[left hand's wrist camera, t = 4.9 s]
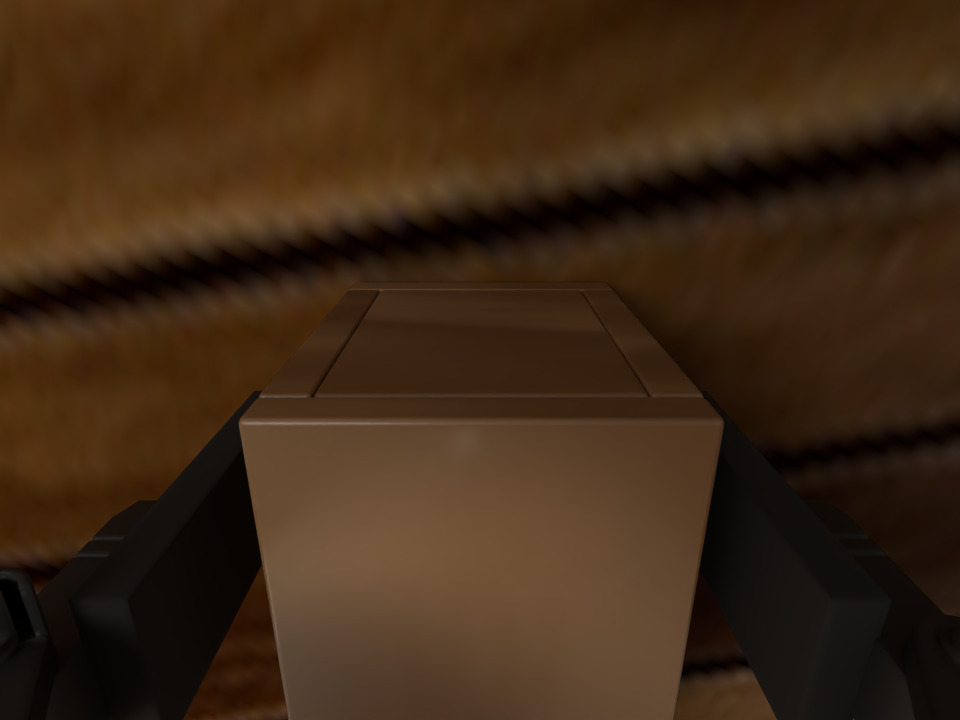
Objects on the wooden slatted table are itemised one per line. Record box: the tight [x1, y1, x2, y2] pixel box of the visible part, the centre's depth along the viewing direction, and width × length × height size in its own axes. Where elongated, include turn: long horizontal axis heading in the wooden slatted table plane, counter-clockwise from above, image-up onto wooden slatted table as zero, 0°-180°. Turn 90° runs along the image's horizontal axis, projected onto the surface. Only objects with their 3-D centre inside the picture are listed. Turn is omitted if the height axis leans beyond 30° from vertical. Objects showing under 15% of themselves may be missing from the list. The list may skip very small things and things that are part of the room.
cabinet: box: [239, 282, 724, 720], centre depth 14 cm, size 16×7×8 cm, turn 0°
